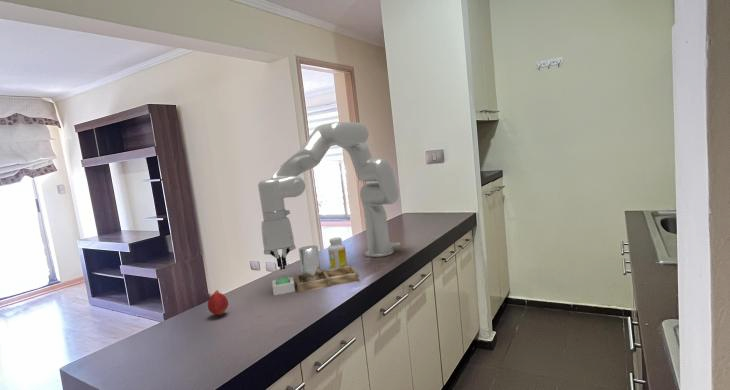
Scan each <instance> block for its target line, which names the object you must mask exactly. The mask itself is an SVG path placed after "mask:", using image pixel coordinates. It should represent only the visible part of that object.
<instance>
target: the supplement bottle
mask: <svg viewBox="0 0 730 390" xmlns="http://www.w3.org/2000/svg"><path fill="white" fill-rule="evenodd" d="M342 241H343V240H342V237H340V236H339V237H333V238H332V237H331V238H329V244H330V245H329V246H328V247H327V251H328V258H329V259H328V260H329V267H330V269H336V268H341V267H347V266H348V260H347V252H346V246H345V245H344V244H343V243H342Z"/></svg>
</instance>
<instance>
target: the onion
mask: <svg viewBox="0 0 730 390" xmlns="http://www.w3.org/2000/svg"><path fill="white" fill-rule="evenodd" d="M228 306H229V300H228V298H227V297H226V295H225V294H223V293H221V292H219V290H218V289H216V290H215V291H214V292H213V294H212V295H211V296H210V297H209V299H208V301H207V309H208V311H209V312H210V313H211V314H213V315H215V316H219V317H220V316H222V315H223V314H224V312H225V311H226V310H227V309H228Z"/></svg>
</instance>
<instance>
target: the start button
mask: <svg viewBox="0 0 730 390" xmlns="http://www.w3.org/2000/svg"><path fill="white" fill-rule="evenodd" d="M289 278H290V277H289V276H288V275H287V276H285V275H283V276H279V277H277V278H276V280H277V285H279V284H284V283H289Z"/></svg>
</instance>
